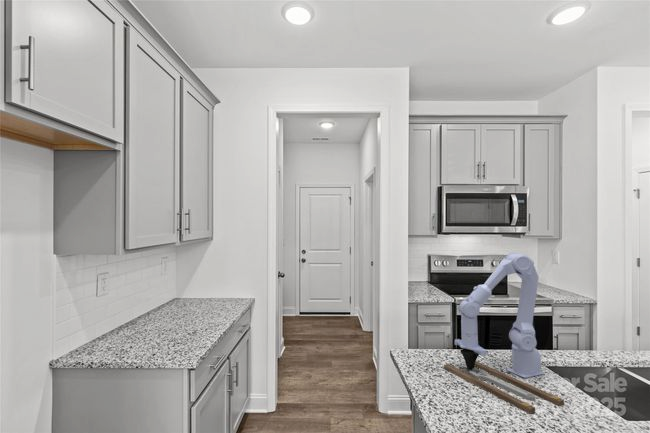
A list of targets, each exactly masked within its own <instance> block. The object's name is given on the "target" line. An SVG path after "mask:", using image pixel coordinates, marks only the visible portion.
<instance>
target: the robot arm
mask: <svg viewBox="0 0 650 433" xmlns="http://www.w3.org/2000/svg"><path fill="white" fill-rule="evenodd" d="M534 264H535V262H534V260H533V259H531V258H530V257H529V256H528V255H527V254H521V253H519V254H518V253H515V252H510V253H508V254H507V255H506V256H505V257H504V258H503V259H501V261H500V262H499V264H498V265H497V266H496V268H495V269H494V271H493V272H492V273H491V275H489V277H488V278H487V279H486V281H485V282H484V284H478V285H477V286H474V287H473V291H472V292H470V294H469V295H468V296H466V297H465V299H464V300H462V301H461V302H460V303H459V306H458V310H459V312H460V316H461V317H460V318H461V320H460V323H461V324H460V325H461V326H460V327H461V328H460V330H461V331H460V333H461V339H460V338H457V339H456V338H455V339H454V345H455V346H459V347H460V348H461V349H460V354H461V356H462V357H463V360H464V362H465V366H466V369H467V371H473V368H475V367H474V365H475V362H476V361H477V359H478V357H479V356H481V357H484V356H487V349H485V348H484V347H482V346H480V344H479V339H478V338H479V337H478V336H479V334H478V333H479V332H478V330H479V329H478V315H479V314H480V308H482V307H483V305H485V303H486V302H487V301H488V300H489V298H491V297H492V291H493V289H494V288H495V287H496V286H497V285H498V284H499V283H500V282H501V281H502V280H503V279H504V278H505V277H506V276H508V275H512V274H513V275H514V274H516V275H517V276H518V277H519V278H520V279H521V283H520V290H519V300H518V306H517V312H516V313H517V314H516V320H515V321H514V322H513V323H512V327H511V329H510V330H509V333H508V338H509V341H511V343H512V344H511V359H512V360H511V361H512V362H511V363H512V368H507V369H506V371H508V372H509V373H512V374H515V375H517V376H519V377H522V378H523V379H527V378H532V377H536V376H541V375H544V372H543V371H542V361H541V360H542V358H541V357H542V356H541V353H540V351H539V350H538V349H537V348H536V347H537V344H538V341H537V339H536V330H535V327H534V325H533V324H534V314H535V307H536V299H537V291H538V286H539V285H538V284H539V274H538V272H537V270H536V267H535V265H534Z"/></svg>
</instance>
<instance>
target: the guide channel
mask: <svg viewBox="0 0 650 433" xmlns="http://www.w3.org/2000/svg"><path fill="white" fill-rule="evenodd" d="M474 366H475V367H474V368H476V367H478V368H480V369H482V370H484V371H486V372H488V374H489V373H490V374H489V375H491V374H492V375H491V376H493V375H494V376H493V377H495V376H496V377H495V378H497V377H498V378H497V379H499V380H501V381H504V382H506V381H507V382H506V383H508V382H509V383H508V384H510V383H511V385H513V386H515V387H518V388H520V389H522V390H525V391H527V392H529V393H532V394H534V395H535V397H538V398H541V399H543V400H545V401H547V402H550V403H552V404H554V405H556V406H558V407H562V406H564V405H565V400H564V399H562V398H561V397H560V396H558V395H554V394H552V393H549V392H547V391H545V390H542V389H540V388H537V387H535V386H533V385H531V384H528V383H526V382H524V381H522V380H520V379H518V378H515V377H513V376H510V375H509V374H506V373H504V372H502V371H499V370H497V369H496V368H492V367H490V366H488V365H486V364H483V363H481V362H479V361H477V360H476V362H475V365H474ZM478 368H477V369H478ZM443 369H444V370H446V371H447V372H450V373H452V374H454V375H455V376H458V377H459V378H460V379H463V380H464V381H466V382H468V381H469V383H470V382H471V384H472V383H473V384H472V385H474V384H475V385H474V386H476V385H477V386H476V387H478V386H479V388H480V387H481V388H480V389H482V388H483V389H482V390H484V391H486V392H487V391H488V393H489V392H490V394H491V393H492V394H491V395H493V394H494V395H493V396H495V397H497V398H499V399H501V400H503V401H504V402H507V403H508V402H509V403H508V404H510V403H511V405H512V404H513V406H514V407H516V408H518V409H520V410H522V411H524V412H526V413H527V414H530V415H532V414H535V413H536V407H535V406H533V405H532V404H530V403H528V402H525V401H524V400H521V399H519V398H518V397H515V396H513V395H511V394H509V393H507V392H505V391H503V390H501V389H500V388H497V387H495V386H494V385H491V384H490V383H488V382H486V381H484V380H479V379H477V378H475V377H473V376H471V375H469V373H467V372H466V371H463V370H461V369H459V368H458V367H455V366H453V365H451V364H449V363H446V364H443Z"/></svg>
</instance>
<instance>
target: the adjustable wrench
mask: <svg viewBox="0 0 650 433" xmlns="http://www.w3.org/2000/svg"><path fill="white" fill-rule="evenodd" d="M468 374H469V375H471V376H473V377H475V378H477V379H481V381H484V380H486V381H485V382H487V381H488V382H487V383H490V382H491V383H490V384H492V383H493V384H492V385H494V384H495V386H496V385H497V387H498V386H499V388H500V387H501V388H500V389H503V390H505V391H507V390H508V392H509V391H510V393H511V392H512V394H513V395H515V396H518V397H520V396H521V397H520V398H522V397H523V399H525V400H526V401H529V400H530V401H531V402H535V401H536V395H534V394H532V393H530V392H528V391H525V390H523V389H521V388H519V387H517V386H515V385H513V384H510V383H508V382H506V381H504V380H502V379H500V378H497V377H495V376H493V375H491V374H489V373H487V372H486V371H484V370H482V369H478V368H476V367H474V368H473V370H468ZM530 401H529V402H530Z"/></svg>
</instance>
